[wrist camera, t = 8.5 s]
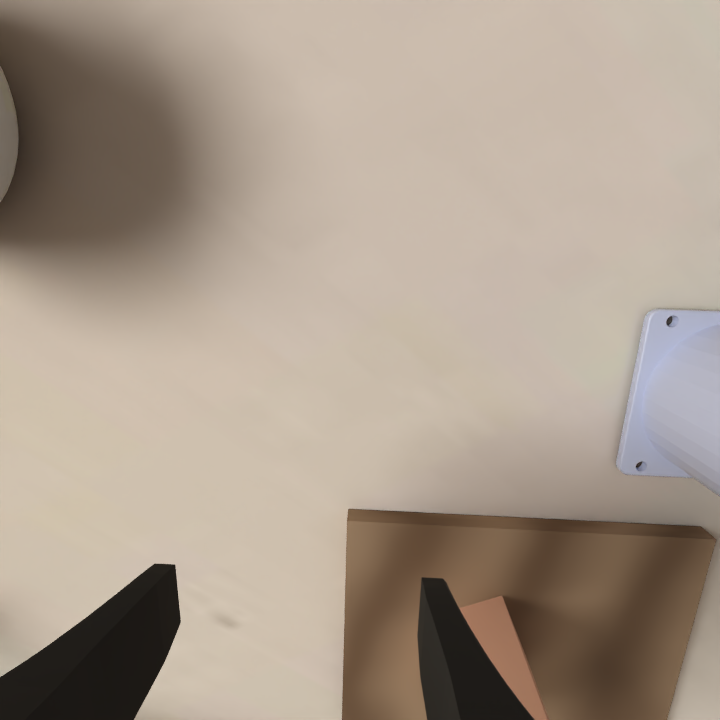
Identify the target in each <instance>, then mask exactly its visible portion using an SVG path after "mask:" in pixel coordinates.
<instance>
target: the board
mask: <svg viewBox="0 0 720 720" xmlns="http://www.w3.org/2000/svg"><path fill="white" fill-rule="evenodd" d="M715 543H716V539H715V538H714V537H713V536H711V535H710V534H709V533H708V532H707V531H706V530H704V529H703V528H702V527H697V526H677V525H657V524H637V523H617V522H597V521H576V520H556V519H536V518H516V517H496V516H476V515H456V514H436V513H415V512H395V511H375V510H355V509H348V518H347V546H346V585H345V624H344V664H343V703H342V720H427V716H426V710H425V703H424V697H423V691H422V685H421V678H420V667H419V653H418V638H417V632H418V619H419V605H420V591H421V577H426V578H443V579H444V580H445V581H446V582H447V585H448V587H449V589H450V591H451V593H452V595H453V597H454V599H455V601H456V603H457V605H458V607H459V608H462V607H465V606H468V605H472V604H475V603H478V602H482V601H485V600H489V599H492V598H495V597H499V596H502V597H503V599H504V602H505V604H506V607H507V610H508V612H509V615H510V617H511V620H512V622H513V625H514V627H515V630H516V632H517V635H518V638H519V640H520V643H521V645H522V648H523V650H524V653H525V655H526V658H527V661H528V663H529V666H530V669H531V671H532V674H533V677H534V679H535V682H536V685H537V688H538V690H539V693H540V696H541V698H542V701H543V704H544V706H545V709H546V712H547V715H548V717H549V720H667V717H668V713H669V710H670V706H671V703H672V699H673V695H674V692H675V688H676V684H677V681H678V677H679V673H680V670H681V666H682V663H683V659H684V655H685V652H686V648H687V644H688V641H689V637H690V633H691V630H692V626H693V623H694V619H695V615H696V612H697V608H698V604H699V601H700V597H701V593H702V590H703V586H704V583H705V579H706V575H707V572H708V568H709V564H710V561H711V557H712V553H713V550H714V546H715Z"/></svg>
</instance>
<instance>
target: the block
mask: <svg viewBox="0 0 720 720" xmlns="http://www.w3.org/2000/svg"><path fill="white" fill-rule="evenodd" d="M459 609H460V611H461V612H462V614H463V616H464V618H465V620H466V621H467V623H468V625H469V627H470V628H471V630H472V632H473V633H474V635H475V636H476V638H477V640H478V641H479V643H480V645H481V646H482V648H483V649H484V651H485V652H486V654H487V656H488V657H489V659H490V660H491V662H492V663H493V665H494V666H495V667H496V669H497V670H498V672H499V673H500V675H501V676H502V678H503V679H504V680H505V682H506V683H507V685H508V686H509V687H510V689H511V690H512V691H513V693H514V694H515V695H516V697H517V698H518V699H519V701H520V702H521V703H522V704H523V706H524V707H525V708H526V710H527V711H528V712H529V713H530V715H531V716H532V717H533V718H534V719H535V720H549V717H548V715H547V712H546V709H545V706H544V704H543V701H542V698H541V696H540V693H539V690H538V688H537V685H536V682H535V679H534V677H533V674H532V671H531V669H530V666H529V663H528V661H527V658H526V655H525V653H524V650H523V648H522V645H521V643H520V640H519V638H518V635H517V632H516V630H515V627H514V625H513V622H512V620H511V617H510V615H509V612H508V610H507V607H506V604H505V602H504V599H503V597H502V596H499V597H495V598H492V599H489V600H485V601H482V602H478V603H475V604H472V605H468V606H465V607H462V608H459Z"/></svg>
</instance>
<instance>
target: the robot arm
mask: <svg viewBox="0 0 720 720" xmlns="http://www.w3.org/2000/svg"><path fill="white" fill-rule="evenodd" d="M670 316H672V319H673V320H672V322H671V324H669V325H668V326H667V324H666V321H667V319H668V318H669V317H670ZM639 462H642V464H641V465H640V466H639V467H636V465H637V463H639ZM616 466H617V468H618V469H619V470H620V471H621V472H622V473H624V474H626V475H641V476H662V477H684V478H694V479H696V480H697V481H698V482H700V483H701V484H703V485H704V486H706V487H707V488H708V489H710V490H711V491H713V492H714V493H715V494H717V495H718V496H720V311H714V310H684V309H653V310H651V311H649V312H648V313H647V315H646V316H645V319H644V323H643V328H642V333H641V338H640V344H639V349H638V354H637V359H636V364H635V369H634V374H633V379H632V384H631V389H630V394H629V399H628V404H627V410H626V415H625V420H624V425H623V430H622V435H621V440H620V445H619V450H618V455H617V460H616ZM180 622H181V620H180V610H179V600H178V589H177V579H176V569H175V565H171V564H154V565H152V566H151V567H150V568H148V569H147V570H146V571H145V572H143V573H142V574H141V575H139V576H138V577H137V578H136V579H134V580H133V581H132V582H131V583H130V584H128V585H127V586H126V587H125V588H123V589H122V590H121V591H120V592H118V593H117V594H116V595H115V596H113V597H112V598H111V599H109V600H108V601H107V602H106V603H104V604H103V605H102V606H101V607H99V608H98V609H97V610H95V611H94V612H93V613H92V614H90V615H89V616H88V617H86V618H85V619H84V620H82V621H81V622H80V623H78V624H77V625H76V626H74V627H73V628H71V629H70V630H69V631H67V632H66V633H65V634H63V635H62V636H61V637H59V638H58V639H56V640H55V641H54V642H52V643H51V644H50V645H48V646H47V647H45V648H44V649H42V650H41V651H40V652H38V653H37V654H35V655H34V656H32V657H31V658H29V659H28V660H26V661H25V662H23V663H22V664H20V665H19V666H17V667H15V668H14V669H12V670H11V671H9V672H8V673H6V674H4V675H3V676H1V677H0V720H134V718H135V716H136V714H137V713H138V711H139V709H140V707H141V705H142V703H143V701H144V700H145V698H146V696H147V694H148V692H149V690H150V688H151V686H152V685H153V683H154V681H155V679H156V677H157V675H158V673H159V671H160V669H161V668H162V666H163V664H164V662H165V660H166V657H167V655H168V652H169V650H170V648H171V645H172V643H173V640H174V638H175V635H176V633H177V630H178V628H179V625H180ZM417 638H418V653H419V667H420V678H421V685H422V691H423V697H424V703H425V710H426V716H427V720H535V719H534V718H533V717H532V716H531V715H530V713H529V712H528V711H527V710H526V708H525V707H524V706H523V704H522V703H521V702H520V701H519V699H518V698H517V697H516V695H515V694H514V693H513V691H512V690H511V689H510V687H509V686H508V685H507V683H506V682H505V680H504V679H503V678H502V676H501V675H500V673H499V672H498V670H497V669H496V667H495V666H494V665H493V663H492V662H491V660H490V659H489V657H488V656H487V654H486V652H485V651H484V649H483V648H482V646H481V645H480V643H479V641H478V640H477V638H476V636H475V635H474V633H473V632H472V630H471V628H470V627H469V625H468V623H467V621H466V620H465V618H464V616H463V614H462V612H461V611H460V609H459V607H458V605H457V603H456V601H455V599H454V597H453V595H452V593H451V591H450V589H449V587H448V585H447V582H446V581H445V580H444V579H443V578H426V577H421V591H420V605H419V619H418V632H417Z"/></svg>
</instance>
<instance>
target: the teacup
mask: <svg viewBox="0 0 720 720" xmlns="http://www.w3.org/2000/svg"><path fill="white" fill-rule="evenodd" d="M18 142H19V137H18V124H17V116H16V110H15V106H14V102H13V98H12V94H11V91H10V88H9V85H8V82H7V80H6V78H5V75H4V73H3V70H2V68H1V66H0V202H1V201H2V199H3V197H4V196H5V194H6V193H7V191H8V188H9V186H10V183H11V181H12V178H13V175H14V172H15V166H16V161H17V156H18Z"/></svg>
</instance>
